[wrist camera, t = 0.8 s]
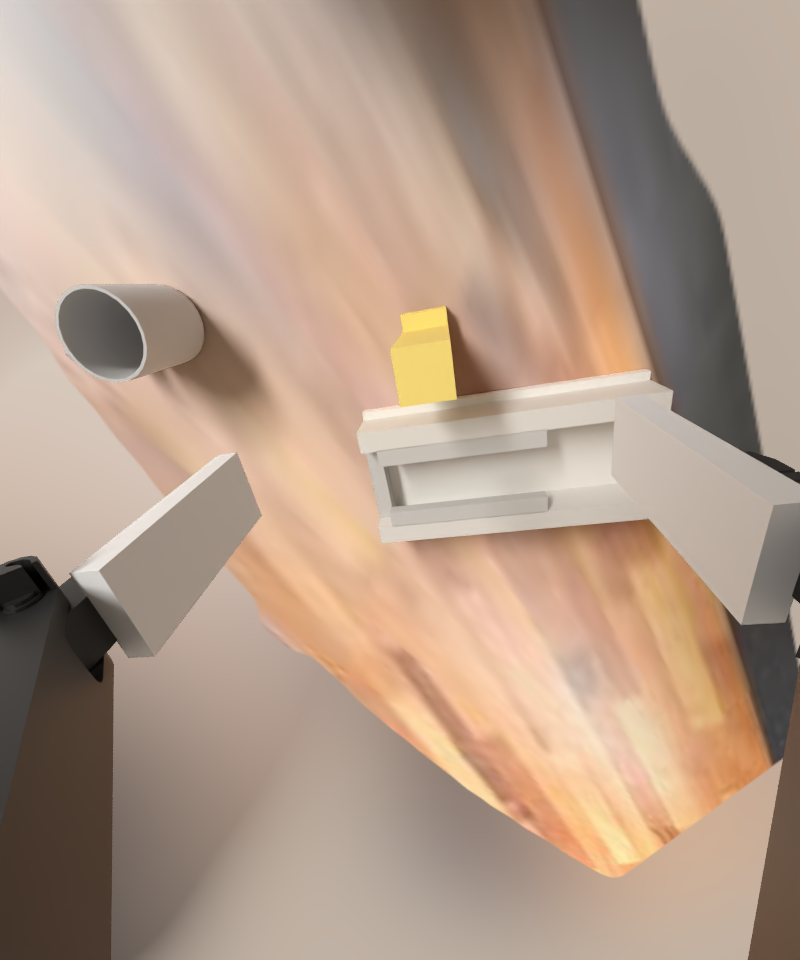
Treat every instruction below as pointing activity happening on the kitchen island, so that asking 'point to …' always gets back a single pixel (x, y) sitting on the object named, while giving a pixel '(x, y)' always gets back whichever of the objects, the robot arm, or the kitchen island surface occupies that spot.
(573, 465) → the rail
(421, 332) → the yellow juice carton
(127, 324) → the cup
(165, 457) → the kitchen island surface
